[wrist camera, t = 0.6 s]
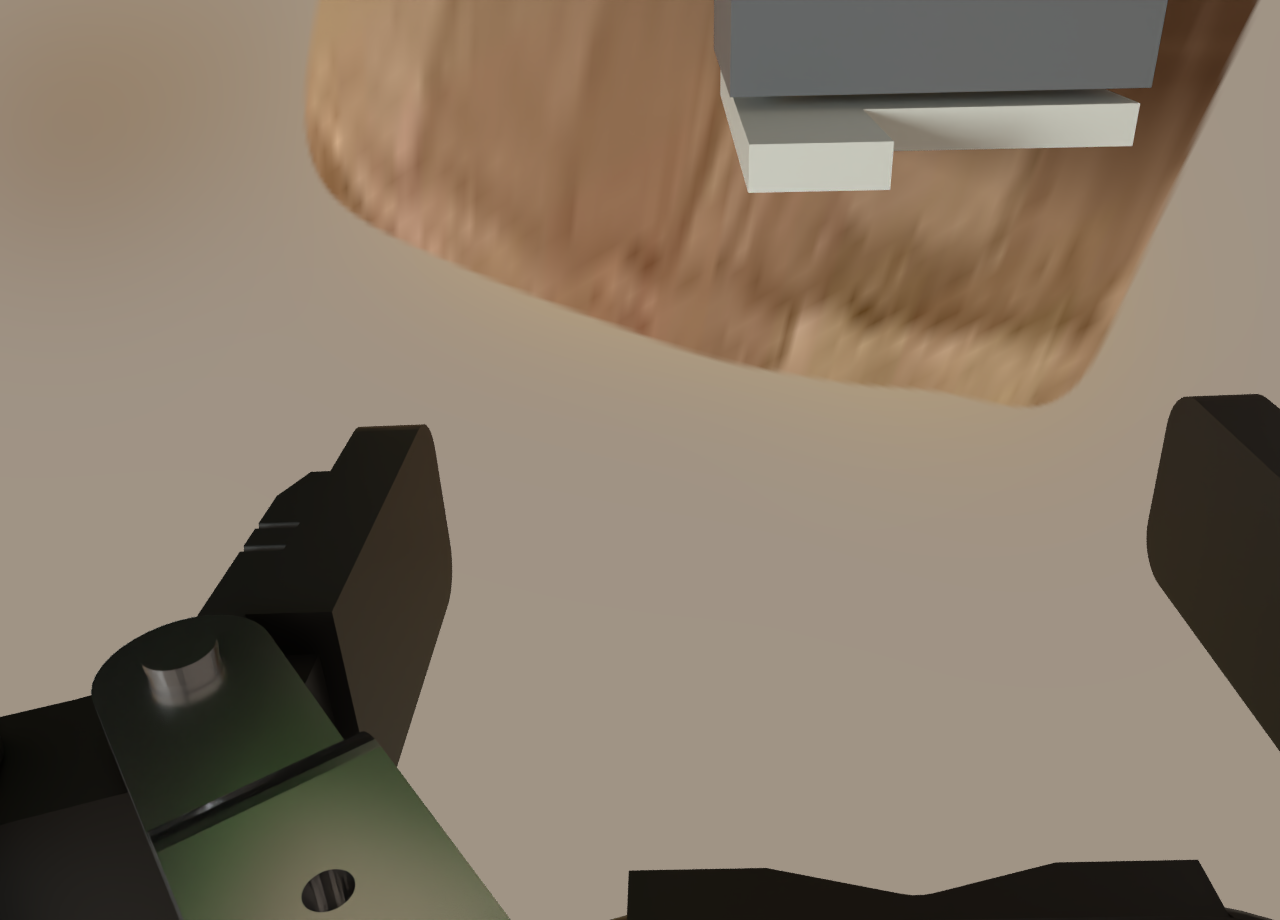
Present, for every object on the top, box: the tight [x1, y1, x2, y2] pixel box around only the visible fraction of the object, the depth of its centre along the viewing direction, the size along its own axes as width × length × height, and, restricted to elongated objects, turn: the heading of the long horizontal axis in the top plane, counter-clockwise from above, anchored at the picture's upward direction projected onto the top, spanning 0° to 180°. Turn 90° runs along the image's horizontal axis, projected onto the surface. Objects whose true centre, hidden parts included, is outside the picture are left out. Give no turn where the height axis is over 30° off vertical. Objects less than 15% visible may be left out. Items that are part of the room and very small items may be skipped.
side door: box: [720, 72, 1140, 193], centre depth 28 cm, size 1×10×14 cm, turn 91°
